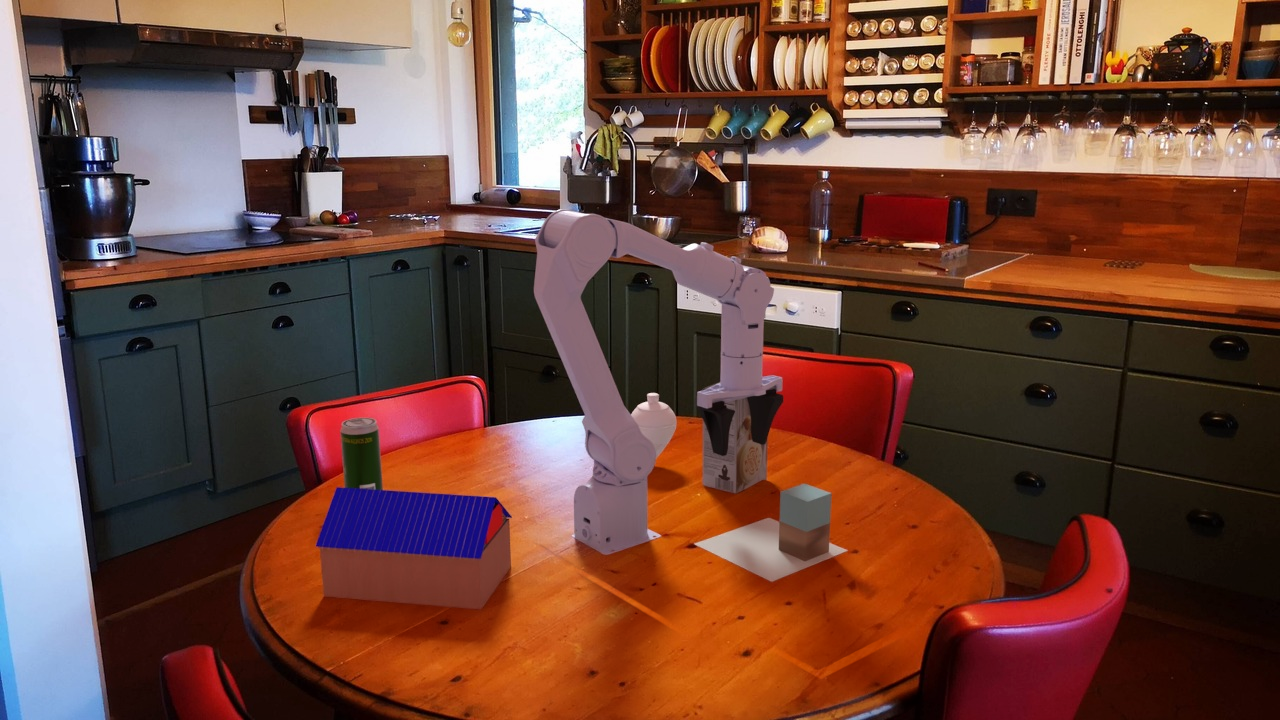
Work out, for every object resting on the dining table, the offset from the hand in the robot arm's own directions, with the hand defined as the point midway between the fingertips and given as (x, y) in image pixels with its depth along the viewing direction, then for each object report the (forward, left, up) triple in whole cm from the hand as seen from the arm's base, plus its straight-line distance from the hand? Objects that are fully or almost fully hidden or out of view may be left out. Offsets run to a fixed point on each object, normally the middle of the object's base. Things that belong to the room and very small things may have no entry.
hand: (739, 448), depth 135 cm
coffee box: (+8, +9, -10) cm, 16 cm away
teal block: (-3, -15, -5) cm, 16 cm away
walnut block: (-3, -15, -9) cm, 18 cm away
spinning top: (+4, +24, -10) cm, 26 cm away
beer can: (-39, +39, -10) cm, 56 cm away
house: (-45, +9, -10) cm, 47 cm away
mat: (-6, -12, -10) cm, 16 cm away
